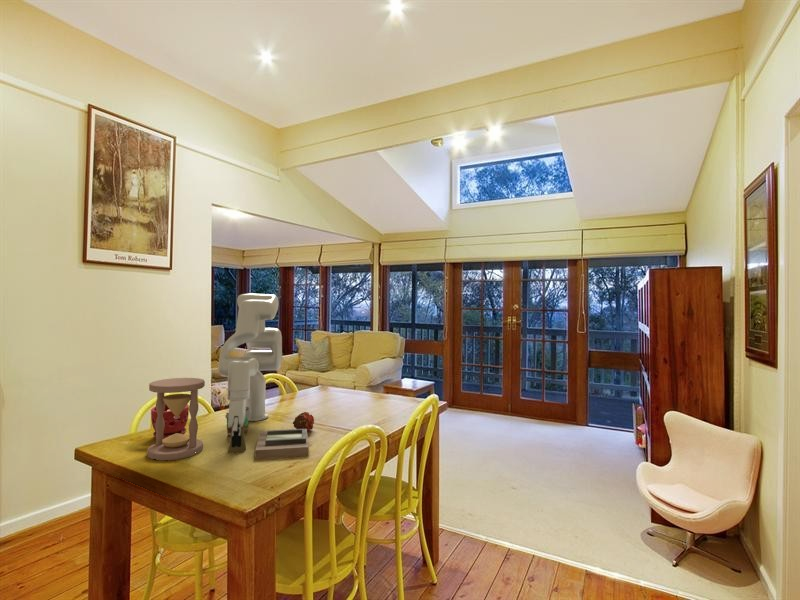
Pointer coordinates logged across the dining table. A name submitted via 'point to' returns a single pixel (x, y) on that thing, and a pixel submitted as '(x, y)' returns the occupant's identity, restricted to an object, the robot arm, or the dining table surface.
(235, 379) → the robot arm
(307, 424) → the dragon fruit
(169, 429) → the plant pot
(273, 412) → the dining table surface
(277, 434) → the dock
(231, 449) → the brown rounded bulbous piece
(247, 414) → the food container
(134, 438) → the dining table surface
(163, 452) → the hourglass
